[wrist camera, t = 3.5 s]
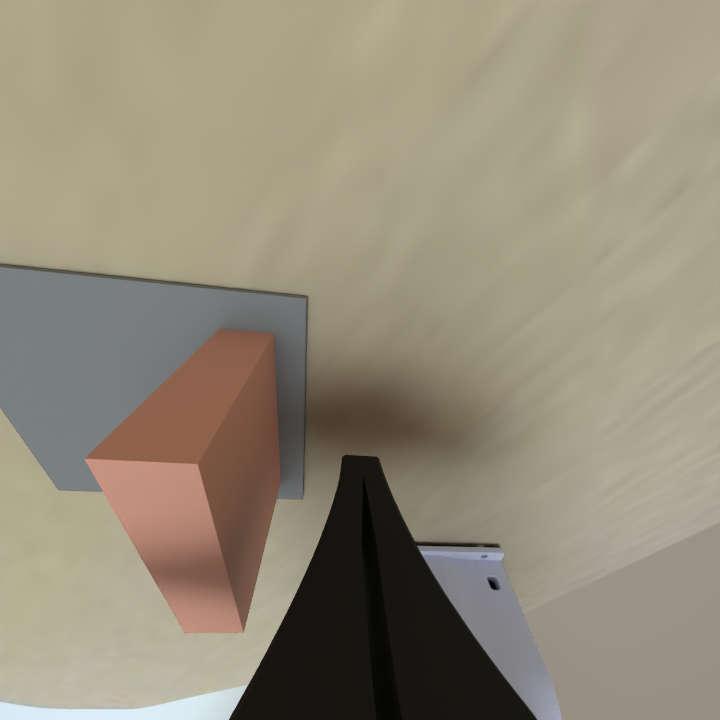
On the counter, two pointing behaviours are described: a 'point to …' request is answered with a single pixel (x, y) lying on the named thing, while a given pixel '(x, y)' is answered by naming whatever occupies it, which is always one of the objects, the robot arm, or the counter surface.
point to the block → (201, 478)
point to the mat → (128, 358)
